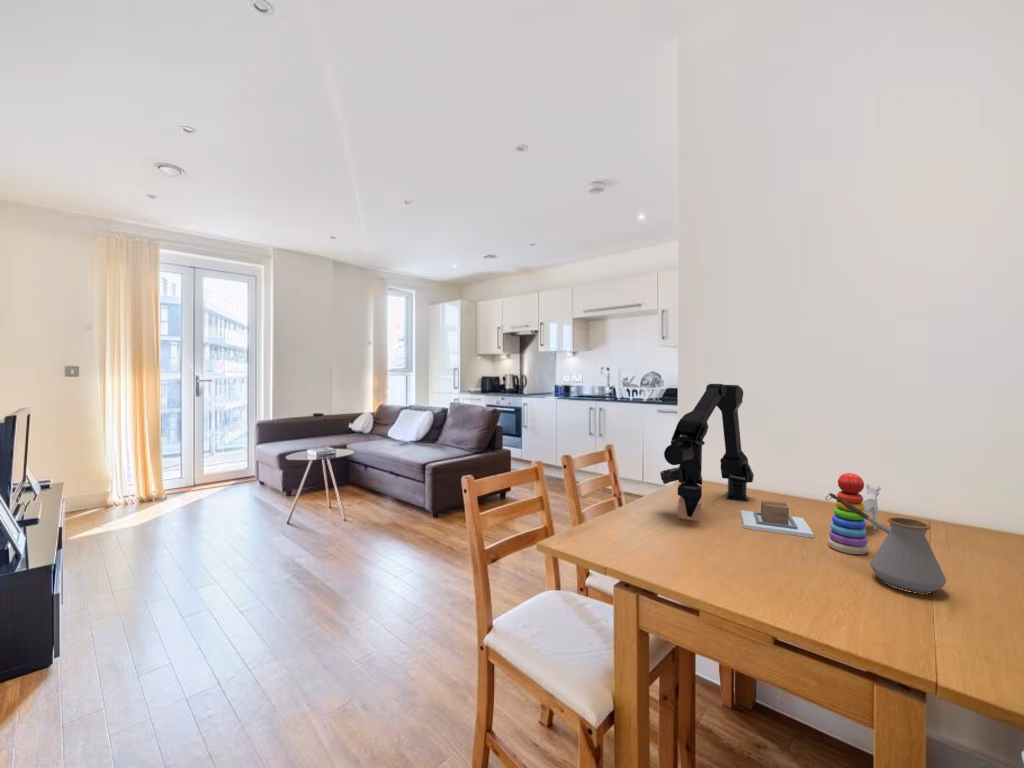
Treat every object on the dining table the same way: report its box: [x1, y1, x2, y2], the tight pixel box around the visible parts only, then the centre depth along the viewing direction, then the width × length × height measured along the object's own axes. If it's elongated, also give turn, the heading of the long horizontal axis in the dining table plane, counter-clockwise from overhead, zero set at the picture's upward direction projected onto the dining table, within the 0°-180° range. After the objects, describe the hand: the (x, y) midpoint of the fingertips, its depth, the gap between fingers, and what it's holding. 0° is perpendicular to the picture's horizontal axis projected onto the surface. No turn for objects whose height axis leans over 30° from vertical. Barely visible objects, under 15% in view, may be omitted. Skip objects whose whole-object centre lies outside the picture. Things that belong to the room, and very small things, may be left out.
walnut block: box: [760, 499, 790, 525], centre depth 124 cm, size 6×6×5 cm
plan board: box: [740, 510, 815, 539], centre depth 124 cm, size 14×16×2 cm
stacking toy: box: [827, 472, 869, 555], centre depth 107 cm, size 8×8×19 cm
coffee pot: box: [825, 492, 947, 593], centre depth 93 cm, size 21×12×15 cm, turn 23°
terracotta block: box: [677, 496, 703, 522], centre depth 130 cm, size 6×6×5 cm
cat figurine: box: [861, 482, 882, 531], centre depth 120 cm, size 4×20×14 cm, turn 124°
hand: (689, 513), depth 130 cm, fingers closed on terracotta block, 6 cm apart
